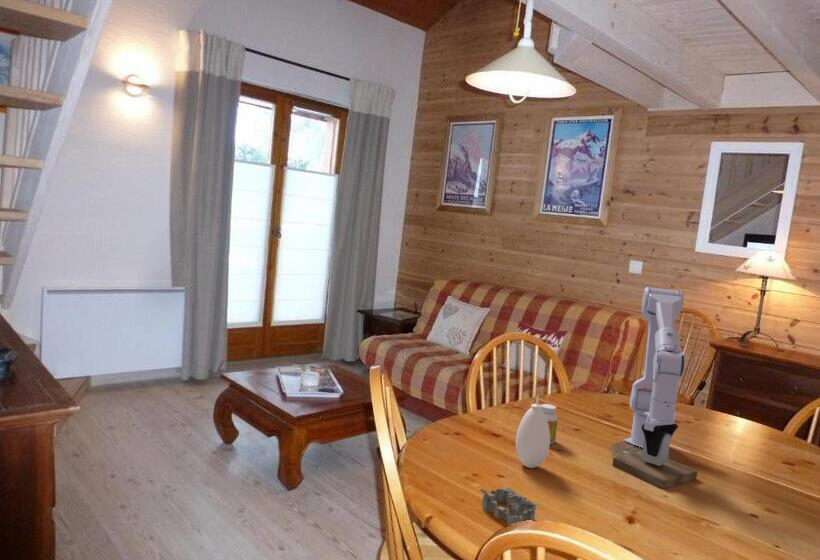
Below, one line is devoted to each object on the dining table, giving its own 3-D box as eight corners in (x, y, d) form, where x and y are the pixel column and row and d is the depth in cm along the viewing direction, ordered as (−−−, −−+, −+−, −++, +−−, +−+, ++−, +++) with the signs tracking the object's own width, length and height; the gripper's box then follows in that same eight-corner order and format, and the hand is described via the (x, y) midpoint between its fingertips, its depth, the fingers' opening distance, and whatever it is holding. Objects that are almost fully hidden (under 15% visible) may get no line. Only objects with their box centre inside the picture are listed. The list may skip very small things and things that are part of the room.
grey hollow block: (475, 507, 120) (477, 487, 120) (502, 499, 125) (504, 480, 124) (512, 531, 112) (514, 511, 111) (540, 522, 116) (542, 502, 116)
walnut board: (645, 456, 156) (646, 449, 155) (696, 478, 144) (697, 470, 144) (612, 465, 148) (613, 457, 148) (662, 489, 136) (664, 481, 136)
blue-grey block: (648, 455, 149) (652, 428, 148) (667, 461, 146) (670, 434, 145) (641, 459, 146) (644, 432, 145) (659, 466, 143) (663, 438, 142)
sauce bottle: (507, 460, 145) (515, 389, 143) (535, 458, 147) (543, 389, 146) (524, 474, 137) (532, 400, 136) (552, 472, 140) (561, 399, 138)
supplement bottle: (555, 445, 158) (559, 410, 157) (534, 442, 159) (539, 407, 158) (554, 438, 163) (558, 404, 162) (534, 435, 164) (538, 401, 163)
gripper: (659, 391, 152) (652, 441, 153) (635, 399, 142) (627, 453, 143) (687, 398, 147) (680, 450, 148) (664, 408, 137) (656, 464, 138)
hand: (656, 453), depth 145 cm, fingers closed on blue-grey block, 5 cm apart
